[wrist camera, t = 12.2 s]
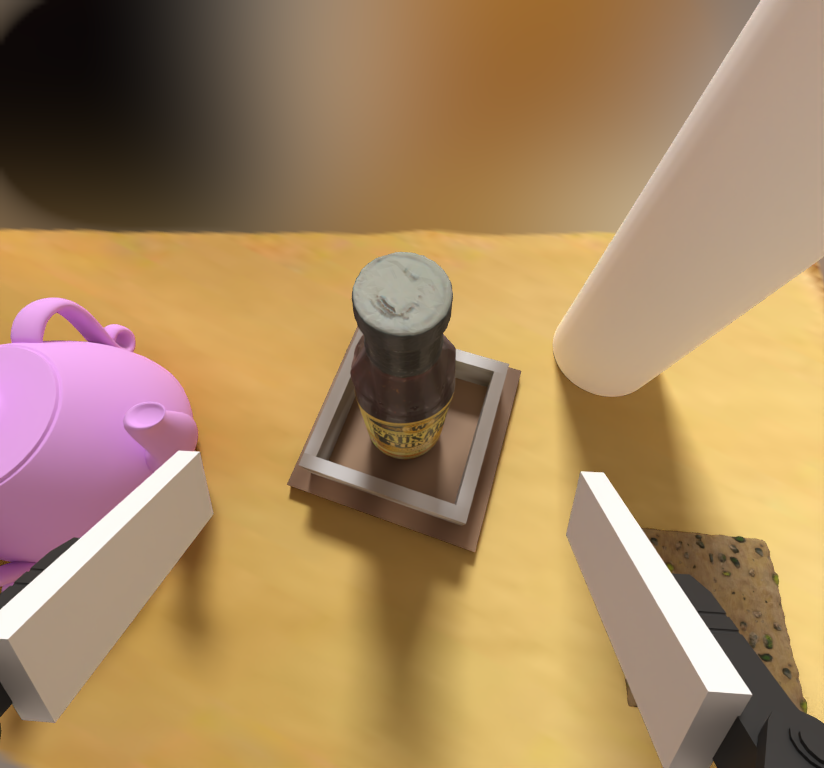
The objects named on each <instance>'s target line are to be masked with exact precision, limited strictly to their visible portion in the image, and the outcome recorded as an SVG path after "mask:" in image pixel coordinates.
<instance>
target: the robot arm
mask: <svg viewBox="0 0 824 768" xmlns="http://www.w3.org/2000/svg"><path fill="white" fill-rule="evenodd" d="M212 515H213V509H212V504H211V500H210V495H209V491H208V486H207V482H206V477H205V473H204V468H203V464H202V459H201V455H200V452H196V451H178V452H176V453H175V454H174V455H173V456H172V457H171V458H170V459H169V460H167V461H166V462H165V463H164V464H163V465H162V466H161V467H160V468H159V469H157V470H156V471H155V472H154V473H153V474H152V475H151V476H150V477H148V478H147V479H146V480H145V481H144V482H143V483H142V484H141V485H139V486H138V487H137V488H136V489H135V490H134V491H133V492H132V493H130V494H129V495H128V496H127V497H126V498H125V499H124V500H123V501H122V502H120V503H119V504H118V505H117V506H116V507H115V508H114V509H113V510H111V511H110V512H109V513H108V514H107V515H106V516H105V517H104V518H102V519H101V520H100V521H99V522H98V523H97V524H96V525H95V526H93V527H92V528H91V529H90V530H89V531H88V532H87V533H86V534H84V535H83V536H82V537H81V538H76V537H74V538H72V539H70V540H68V541H67V542H65V543H63V544H62V545H60V546H58V547H56V548H55V549H53V550H51V551H50V552H49V553H47V554H46V555H45V556H44V557H43V558H42V559H40V560H39V561H38V562H37V563H36V564H35V565H33V566H32V567H31V568H30V571H29V572H27V571H26V572H25V573H24V574H23V575H22V576H21V577H19V578H18V579H17V580H16V581H15V582H14V584H13V586H9V587H8V588H6V589H5V590H4V591H3V592H2V593H1V594H0V717H1V716H2V715H3V713H4V712H5V711H6V710H7V709H8V708H9V707H10V705H11V704H12V705H13V706H14V708H15V710H16V711H17V713H18V714H19V716H20V718H21V719H22V720H29V721H41V722H53V723H55V722H56V721H57V720H58V718H59V717H60V716H61V714H62V713H63V712H64V710H65V709H66V708H67V706H68V705H69V704H70V703H71V701H72V700H73V699H74V697H75V696H76V695H77V693H78V692H79V691H80V689H81V688H82V687H83V685H84V684H85V683H86V681H87V680H88V679H89V677H90V676H91V675H92V674H93V672H94V671H95V670H96V668H97V667H98V666H99V664H100V663H101V662H102V660H103V659H104V658H105V656H106V655H107V654H108V652H109V651H110V650H111V649H112V647H113V646H114V645H115V643H116V642H117V641H118V639H119V638H120V637H121V635H122V634H123V633H124V631H125V630H126V629H127V627H128V626H129V625H130V623H131V622H132V621H133V620H134V618H135V617H136V616H137V614H138V613H139V612H140V610H141V609H142V608H143V606H144V605H145V604H146V602H147V601H148V600H149V598H150V597H151V596H152V594H153V593H154V592H155V591H156V589H157V588H158V587H159V585H160V584H161V583H162V581H163V580H164V579H165V577H166V576H167V575H168V573H169V572H170V571H171V569H172V568H173V567H174V566H175V564H176V563H177V562H178V560H179V559H180V558H181V556H182V555H183V554H184V552H185V551H186V550H187V548H188V547H189V546H190V544H191V543H192V542H193V540H194V539H195V538H196V537H197V535H198V534H199V533H200V531H201V530H202V529H203V527H204V526H205V525H206V523H207V522H208V521H209V519H210V518H211V517H212ZM566 536H567V538H568V541H569V543H570V545H571V548H572V550H573V553H574V555H575V557H576V560H577V562H578V565H579V567H580V569H581V572H582V574H583V577H584V579H585V581H586V584H587V586H588V589H589V591H590V593H591V596H592V598H593V601H594V603H595V605H596V608H597V610H598V613H599V615H600V617H601V620H602V622H603V625H604V627H605V629H606V632H607V634H608V637H609V639H610V641H611V644H612V646H613V649H614V651H615V653H616V656H617V658H618V661H619V663H620V665H621V668H622V670H623V673H624V675H625V677H626V680H627V682H628V685H629V687H630V689H631V692H632V694H633V697H634V699H635V701H636V704H637V706H638V709H639V711H640V713H641V716H642V718H643V721H644V723H645V725H646V728H647V730H648V733H649V735H650V737H651V740H652V742H653V745H654V747H655V749H656V752H657V754H658V757H659V759H660V761H661V764H662V766H663V768H709V767H710V766H711V764H712V762H713V761H714V762H715V764H716V766H717V768H824V723H822V722H821V721H819V720H818V719H817V718H815V717H812V716H810V715H808V714H806V713H804V712H802V711H800V710H799V709H798V708H797V707H796V706H795V704H794V703H793V702H792V701H791V699H790V698H789V697H788V695H787V694H786V693H785V691H784V690H783V689H782V687H781V686H780V685H779V683H778V682H777V681H776V679H775V678H774V677H773V675H772V674H771V672H770V671H769V670H768V668H767V667H766V666H765V664H764V663H763V662H762V660H761V659H760V658H759V656H758V655H757V654H756V652H755V651H754V650H753V648H752V647H751V646H750V644H749V643H748V642H747V640H746V639H745V637H744V636H743V635H742V634H740V633H739V629H738V628H737V627H736V625H735V624H734V623H733V621H732V620H731V619H730V617H727V616H726V612H725V611H724V609H723V608H722V607H721V605H720V604H719V602H718V601H717V600H716V598H715V597H714V596H713V594H712V593H711V592H710V591H709V590H708V589H706V588H705V587H704V586H703V585H702V584H701V583H699V582H698V581H697V580H696V579H695V578H694V577H692V576H691V575H690V574H674V573H671V572H670V571H669V569H668V568H667V566H666V565H665V563H664V562H663V560H662V559H661V557H660V556H659V554H658V553H657V551H656V550H655V548H654V547H653V545H652V544H651V542H650V541H649V539H648V538H647V536H646V535H645V533H644V532H643V530H642V529H641V527H640V526H639V524H638V523H637V521H636V520H635V518H634V517H633V515H632V514H631V513H630V511H629V510H628V508H627V507H626V505H625V504H624V502H623V501H622V499H621V498H620V496H619V495H618V493H617V492H616V490H615V489H614V487H613V486H612V484H611V483H610V481H609V480H608V478H607V477H606V475H605V474H604V473H603V472H583V471H580V476H579V480H578V485H577V489H576V493H575V498H574V502H573V506H572V511H571V515H570V519H569V524H568V528H567V533H566ZM0 737H1V724H0Z"/></svg>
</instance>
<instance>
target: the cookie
mask: <svg viewBox="0 0 824 768" xmlns="http://www.w3.org/2000/svg"><path fill="white" fill-rule="evenodd" d="M641 529H642V530H643V532H644V533H645V535H646V536H647V538H648V539H649V541H650V542H651V544H652V545H653V547H654V548H655V550H656V551H657V553H658V554H659V556H660V557H661V559H662V560H663V562H664V563H665V565H666V566H667V568H668V569H669V571H670V572H671V573H674V574H690V575H691V576H692V577H694V578H695V579H696V580H697V581H698V582H699V583H701V584H702V585H703V586H704V587H705V588H706V589H708V590H709V591H710V592H711V593H712V594H713V596H714V597H715V598H716V600H717V601H718V602H719V604H720V605H721V607H722V608H723V609H724V611H725V612H726V616H727V617H730V619H731V620H732V621H733V623H734V624H735V625H736V627H737V628H738V629H739V633H740V634H742V635H743V636H744V637H745V639H746V640H747V642H748V643H749V644H750V646H751V647H752V648H753V650H754V651H755V652H756V654H757V655H758V656H759V658H760V659H761V660H762V662H763V663H764V664H765V666H766V667H767V668H768V670H769V671H770V672H771V674H772V675H773V677H774V678H775V679H776V681H777V682H778V683H779V685H780V686H781V687H782V689H783V690H784V691H785V693H786V694H787V695H788V697H789V698H790V699H791V701H792V702H793V703H794V704H795V706H796V707H797V708H798V709H799V710H800V711H802V712H804V713H806V714H807V702H806V700H805V699H804V698H803V695H802V689H801V685H800V681H799V672H798V669H797V666H796V664H795V661H794V658H793V654H792V649H791V646H790V638H789V635H788V633H787V628H786V625H785V616H784V612H783V610H782V605H781V597H780V594H779V589H778V584H779V579H778V575H777V574H776V573H775V572H774V567H773V563H772V561H771V559H770V551H769V549H768V547H767V544H766V543H765V541H763V540H759V539H750V538H743V537H739V536H738V537H729V536H725V535H708V534H700V533H685V532H679V531H661V530H655V529H644V528H641ZM625 681H626V686H627V695H628V705H629V706H634V707H638V706H637V704H636V701H635V699H634V697H633V694H632V692H631V689H630V687H629V685H628V682H627V680H626V677H625Z"/></svg>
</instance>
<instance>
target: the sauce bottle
mask: <svg viewBox="0 0 824 768" xmlns="http://www.w3.org/2000/svg"><path fill="white" fill-rule="evenodd" d="M452 301H453V292H452V285H451V282H450V280H449V278H448V276H447V274H446V273H445V271H444V270H443V269H442V268H441V267H440V266H439V265H437V264H436V263H435V262H434V261H432V260H430V259H427V258H426V257H425V256H422V255H418V254H415V253H407V252H396V253H392V254H389V255H386V256H382V257H379V258H376V259H374V260H373V261H371V262H370V263H368V264H367V265H366V266H365V267H364V268H363V269H362V270H361V272H360V274H359V276H358V277H357V278H356V281H355V284H354V286H353V291H352V302H353V312H354V316H355V319H356V321H357V325H358V327H359V329H360V331H361V332H362V333H363V335H362V336H361V338H360V340H359V342H358V344H357V345H356V347H355V351H354V357H353V361H352V365H351V371H350V374H351V380H352V382H353V384H354V392H355V396H356V399H357V402H358V405H359V408H360V411H361V414H362V416H363V419H364V422H365V425H366V428H367V431H368V434H369V436H370V438H371V440H372V442H373V443H374V445H375V446H376V447H377V448H378V449H379V450H380V451H382V452H383V453H384V454H385V455H387V456H389V457H392V458H395V459H404V460H408V459H415V458H417V457H420V456H421V455H423V454H425V453H426V452H428V451H429V450H430V449H431V448H432V447H433V446H434V445H435V444H436V442H437V441H438V439H439V437H440V434H441V432H442V429H443V425H444V422H445V419H446V415H447V412H448V409H449V406H450V403H451V400H452V397H453V394H454V390H455V369H456V349H455V347H454V345H453V344H452V343H451V342H450V341H449V340H448V339H447V338H446V337H445V336H444V334H443V332H444V331H445V330H446V328H447V326H448V323H449V321H450V317H451V309H452Z"/></svg>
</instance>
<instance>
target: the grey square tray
mask: <svg viewBox="0 0 824 768" xmlns="http://www.w3.org/2000/svg"><path fill="white" fill-rule="evenodd" d="M362 335H363V333H362V332H361V331H360V329H359V327H357V329H356V331H355V333H354V336H353V338H352V340H351V342H350V344H349V347H348V349H347V351H346V353H345V356H344V358H343V360H342V362H341V365H340V367H339V369H338V371H337V374H336V376H335V378H334V380H333V383H332V385H331V387H330V389H329V392H328V394H327V396H326V398H325V401H324V403H323V405H322V407H321V409H320V412H319V414H318V416H317V418H316V421H315V423H314V425H313V427H312V430H311V432H310V434H309V436H308V439H307V441H306V443H305V445H304V448H303V450H302V452H301V454H300V457H299V459H298V461H297V463H296V465H295V468H294V470H293V472H292V474H291V477H290V479H289V481H288V483H287V485H289V486H292V487H295V488H297V489H300V490H303V491H306V492H308V493H311V494H314V495H317V496H320V497H322V498H325V499H328V500H331V501H333V502H336V503H339V504H342V505H345V506H347V507H350V508H353V509H356V510H358V511H361V512H364V513H367V514H369V515H372V516H375V517H378V518H381V519H383V520H386V521H389V522H392V523H394V524H397V525H400V526H403V527H406V528H408V529H411V530H414V531H417V532H419V533H422V534H425V535H428V536H431V537H433V538H436V539H439V540H442V541H444V542H447V543H450V544H453V545H455V546H458V547H461V548H464V549H467V550H469V551H472V552H475V550H476V546H477V542H478V538H479V534H480V531H481V527H482V523H483V519H484V515H485V511H486V507H487V503H488V499H489V495H490V491H491V487H492V484H493V480H494V476H495V472H496V468H497V464H498V460H499V456H500V452H501V448H502V444H503V440H504V437H505V433H506V429H507V425H508V421H509V417H510V413H511V409H512V405H513V401H514V397H515V393H516V390H517V386H518V382H519V378H520V374H521V371H520V370H516V369H513V368H509V367H508V366H509V364H507V363H503V362H500V361H496V360H493V359H489V358H486V357H482V356H479V355H475V354H471V353H468V352H464V351H461V350H457V349H456V369H455V390H454V394H453V397H452V400H451V403H450V406H449V409H448V412H447V415H446V419H445V422H444V425H443V429H442V432H441V434H440V437H439V439H438V441H437V442H436V444H435V445H434V446H433V447H432V448H431V449H430V450H429V451H428V452H426V453H425V454H423V455H421V456H420V457H417V458H415V459H408V460H404V459H395V458H392V457H389V456H387V455H385V454H384V453H383V452H382V451H380V450H379V449H378V448H377V447H376V446H375V445H374V443H373V442H372V440H371V438H370V436H369V434H368V431H367V428H366V425H365V422H364V419H363V416H362V414H361V411H360V408H359V405H358V402H357V399H356V396H355V392H354V384H353V382H352V380H351V374H350V371H351V365H352V361H353V357H354V351H355V347H356V345H357V344H358V342H359V340H360V338H361V336H362Z"/></svg>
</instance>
